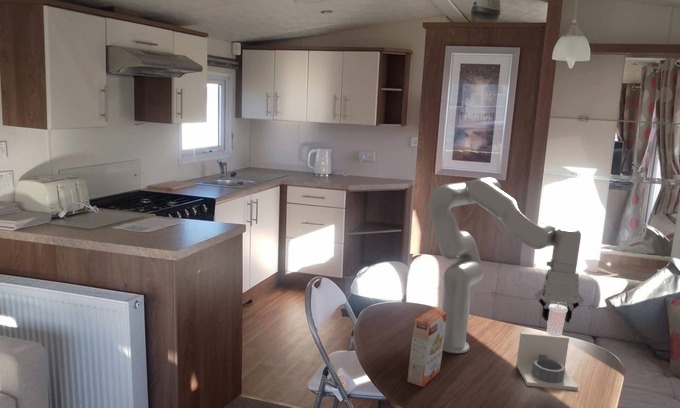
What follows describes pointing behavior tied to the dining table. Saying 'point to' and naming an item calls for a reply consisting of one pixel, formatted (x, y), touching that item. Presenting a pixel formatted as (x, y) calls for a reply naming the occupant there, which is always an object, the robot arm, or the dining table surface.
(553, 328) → the beverage cup
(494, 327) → the dining table surface
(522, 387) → the dining table surface
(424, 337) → the cracker box
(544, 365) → the bracket
